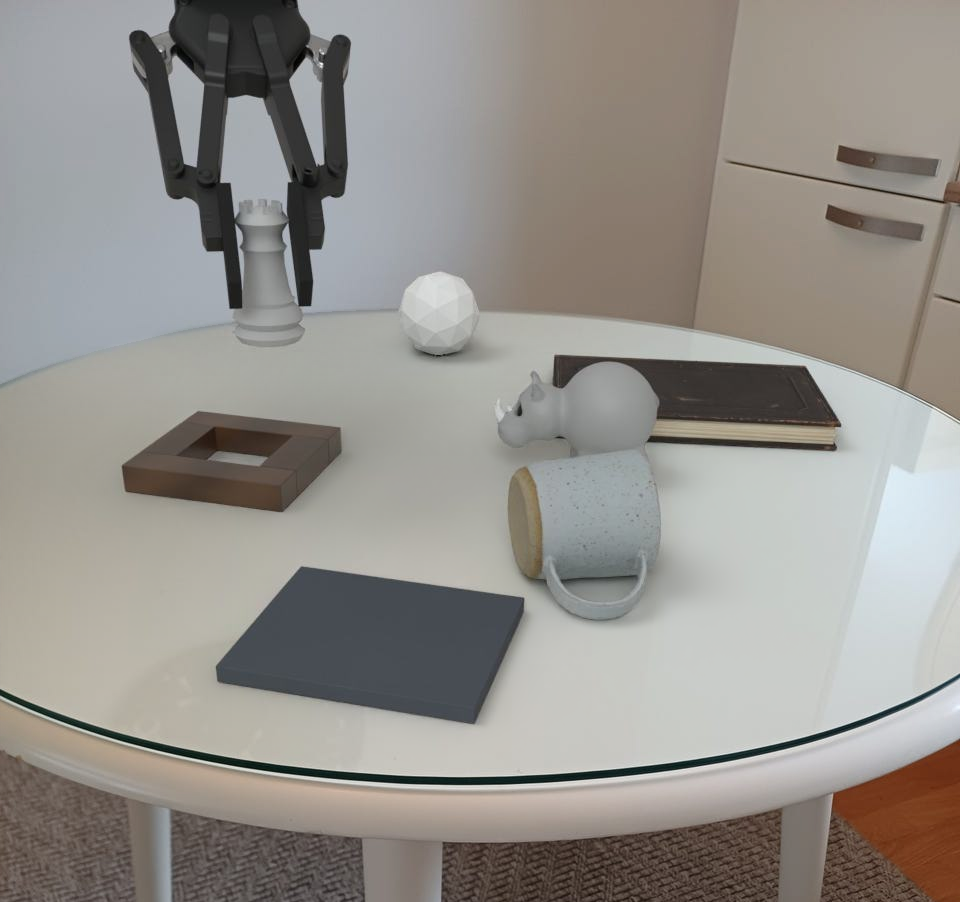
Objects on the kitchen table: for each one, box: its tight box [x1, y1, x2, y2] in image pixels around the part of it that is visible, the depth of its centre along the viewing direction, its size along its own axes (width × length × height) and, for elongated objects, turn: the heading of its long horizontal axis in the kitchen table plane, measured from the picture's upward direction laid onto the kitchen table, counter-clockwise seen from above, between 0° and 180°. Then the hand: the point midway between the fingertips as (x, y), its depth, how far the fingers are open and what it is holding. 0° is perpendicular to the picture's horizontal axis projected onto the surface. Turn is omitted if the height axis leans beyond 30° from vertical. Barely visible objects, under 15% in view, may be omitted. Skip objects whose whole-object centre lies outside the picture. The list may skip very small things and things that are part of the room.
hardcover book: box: [552, 354, 842, 451], centre depth 97 cm, size 16×23×2 cm
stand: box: [121, 410, 343, 513], centre depth 83 cm, size 12×12×2 cm
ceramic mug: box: [507, 449, 662, 621], centre depth 68 cm, size 11×8×8 cm
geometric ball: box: [398, 270, 481, 356], centre depth 109 cm, size 8×8×8 cm
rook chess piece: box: [232, 198, 306, 348], centre depth 68 cm, size 4×4×8 cm
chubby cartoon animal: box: [493, 362, 659, 466], centre depth 83 cm, size 7×12×8 cm, turn 89°
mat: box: [215, 565, 525, 724], centre depth 63 cm, size 14×12×1 cm
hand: (270, 294), depth 65 cm, fingers closed on rook chess piece, 3 cm apart
